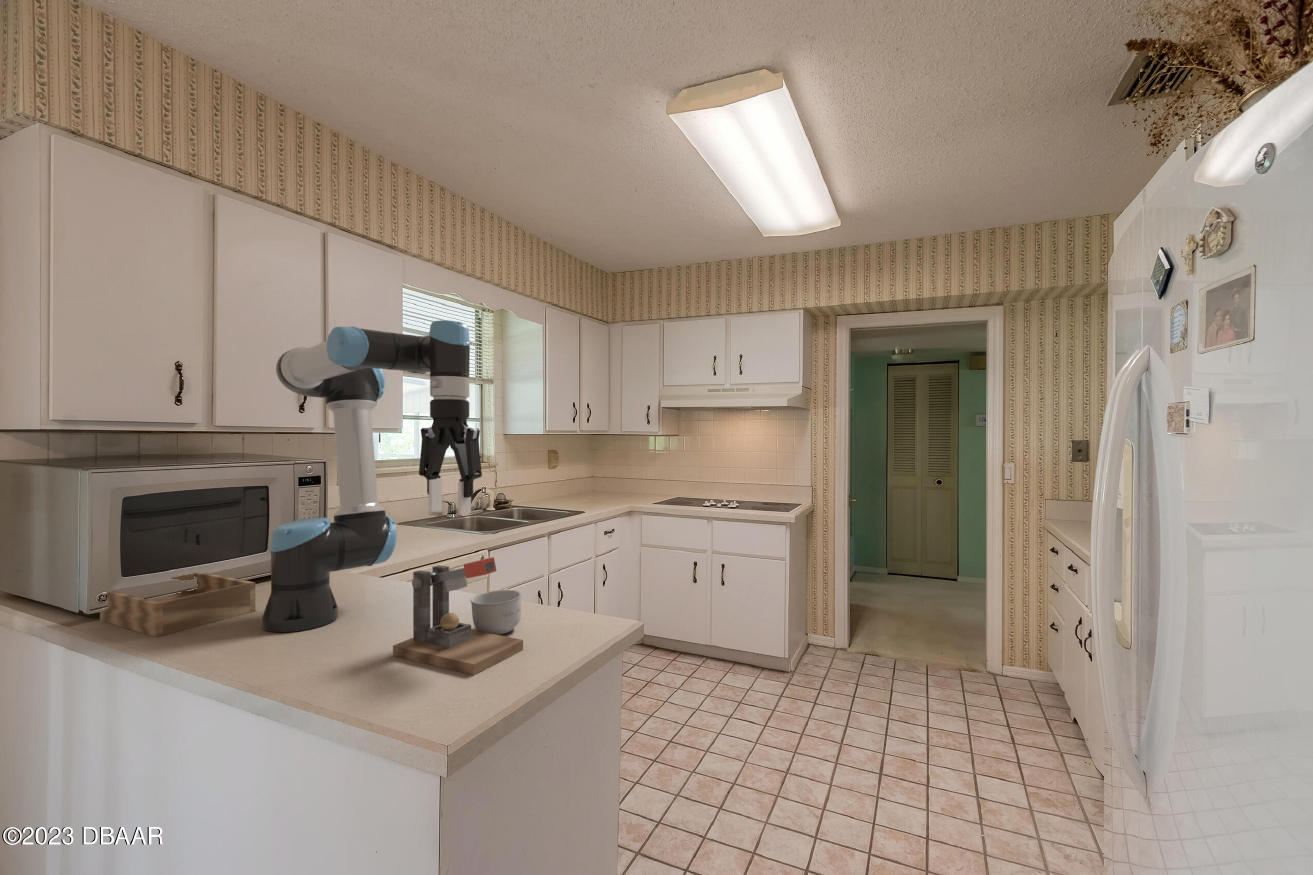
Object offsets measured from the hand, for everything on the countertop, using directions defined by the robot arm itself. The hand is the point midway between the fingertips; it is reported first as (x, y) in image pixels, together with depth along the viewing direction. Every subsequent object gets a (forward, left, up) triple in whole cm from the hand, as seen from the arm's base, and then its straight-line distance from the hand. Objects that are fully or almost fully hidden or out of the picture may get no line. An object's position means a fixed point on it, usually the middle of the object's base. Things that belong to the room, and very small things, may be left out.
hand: (449, 512), depth 120 cm
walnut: (0, 0, -22) cm, 22 cm away
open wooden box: (-74, -12, -28) cm, 80 cm away
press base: (+3, 0, -28) cm, 28 cm away
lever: (+3, 0, -15) cm, 15 cm away
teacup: (0, +15, -28) cm, 32 cm away
